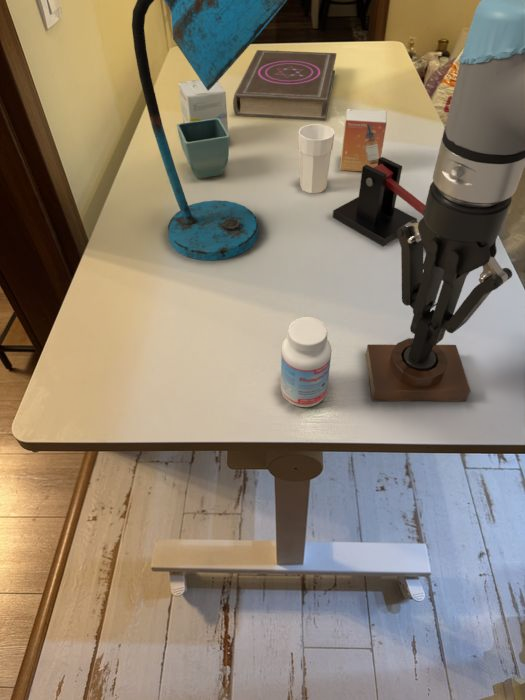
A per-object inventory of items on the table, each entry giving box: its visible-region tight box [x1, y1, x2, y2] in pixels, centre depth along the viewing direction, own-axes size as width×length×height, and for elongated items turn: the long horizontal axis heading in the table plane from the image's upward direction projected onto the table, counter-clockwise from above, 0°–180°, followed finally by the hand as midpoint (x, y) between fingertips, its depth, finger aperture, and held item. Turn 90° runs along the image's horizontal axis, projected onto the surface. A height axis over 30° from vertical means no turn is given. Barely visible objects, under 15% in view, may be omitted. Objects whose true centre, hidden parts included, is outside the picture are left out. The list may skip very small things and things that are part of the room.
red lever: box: [374, 164, 426, 216], centre depth 86 cm, size 14×5×2 cm, turn 41°
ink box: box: [178, 79, 229, 133], centre depth 113 cm, size 9×9×12 cm
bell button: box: [403, 346, 436, 371], centre depth 67 cm, size 4×4×2 cm
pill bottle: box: [280, 316, 332, 408], centre depth 64 cm, size 6×6×11 cm
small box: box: [339, 108, 388, 172], centre depth 104 cm, size 8×6×10 cm
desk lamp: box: [131, 0, 288, 262], centre depth 76 cm, size 16×22×45 cm
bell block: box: [365, 337, 471, 402], centre depth 68 cm, size 12×8×4 cm, turn 89°
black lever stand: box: [332, 156, 418, 247], centre depth 90 cm, size 12×9×11 cm
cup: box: [298, 123, 335, 194], centre depth 99 cm, size 7×7×11 cm
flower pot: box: [176, 118, 231, 180], centre depth 104 cm, size 9×9×9 cm
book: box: [232, 49, 337, 121], centre depth 133 cm, size 30×22×5 cm
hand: (419, 354), depth 66 cm, fingers closed
